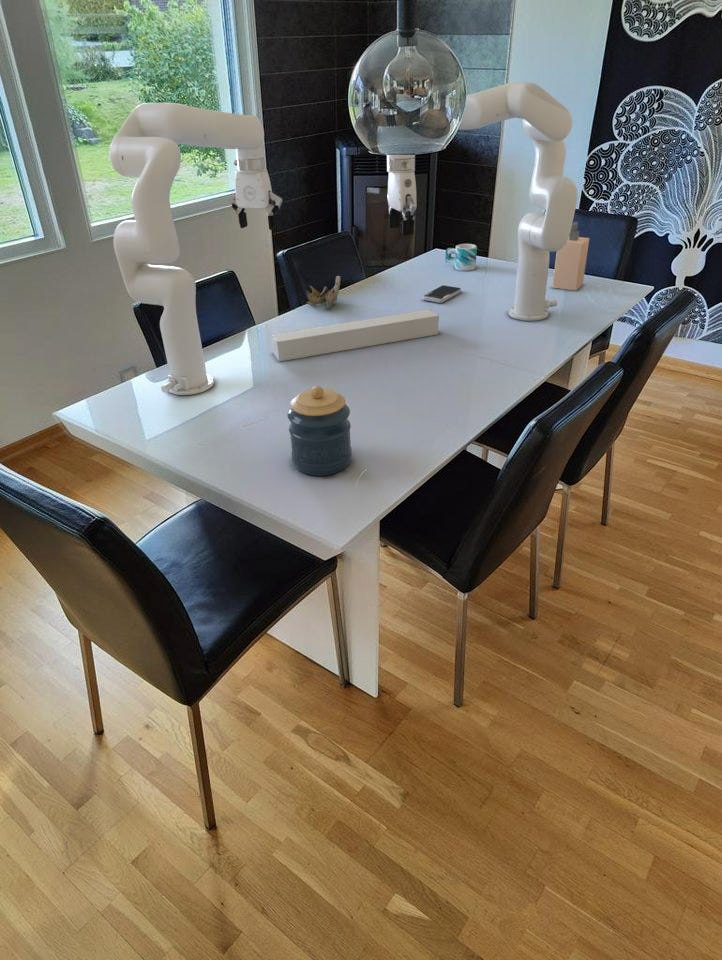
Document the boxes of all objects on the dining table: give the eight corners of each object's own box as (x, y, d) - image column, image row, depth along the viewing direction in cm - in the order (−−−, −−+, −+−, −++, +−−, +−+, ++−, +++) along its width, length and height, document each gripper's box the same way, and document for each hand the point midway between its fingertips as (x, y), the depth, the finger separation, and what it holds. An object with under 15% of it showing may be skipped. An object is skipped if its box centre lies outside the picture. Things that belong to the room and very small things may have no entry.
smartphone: (461, 288, 240) (441, 299, 230) (461, 291, 241) (441, 303, 231) (442, 285, 244) (422, 296, 234) (442, 288, 245) (422, 300, 235)
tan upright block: (559, 281, 247) (567, 218, 235) (582, 284, 243) (592, 220, 231) (548, 290, 238) (556, 226, 226) (572, 294, 234) (581, 228, 222)
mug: (470, 271, 262) (471, 249, 257) (442, 268, 267) (442, 246, 263) (478, 266, 268) (479, 244, 263) (451, 262, 273) (451, 241, 268)
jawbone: (353, 284, 236) (341, 264, 228) (334, 318, 232) (322, 299, 224) (332, 281, 241) (320, 262, 233) (313, 315, 237) (300, 296, 229)
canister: (282, 471, 142) (273, 395, 133) (307, 442, 152) (301, 370, 143) (338, 481, 138) (333, 404, 129) (360, 451, 148) (358, 377, 139)
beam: (279, 361, 193) (277, 341, 190) (273, 353, 198) (271, 334, 195) (438, 334, 207) (438, 315, 204) (429, 327, 212) (429, 309, 209)
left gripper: (217, 166, 190) (226, 229, 199) (271, 167, 184) (278, 232, 193) (231, 162, 195) (239, 223, 205) (284, 163, 190) (289, 226, 199)
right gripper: (427, 167, 174) (426, 236, 184) (401, 159, 188) (401, 223, 197) (400, 170, 172) (400, 239, 182) (376, 162, 186) (377, 226, 195)
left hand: (258, 228), depth 199 cm, fingers open, 9 cm apart
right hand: (401, 231), depth 190 cm, fingers open, 9 cm apart
